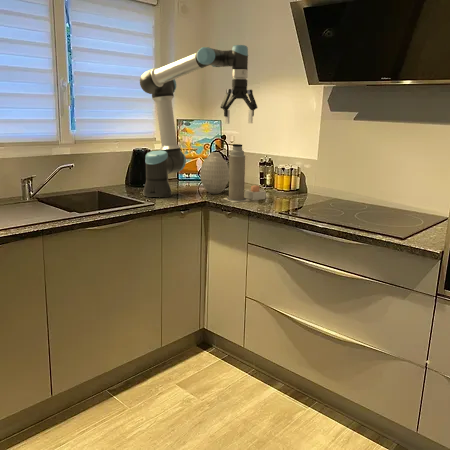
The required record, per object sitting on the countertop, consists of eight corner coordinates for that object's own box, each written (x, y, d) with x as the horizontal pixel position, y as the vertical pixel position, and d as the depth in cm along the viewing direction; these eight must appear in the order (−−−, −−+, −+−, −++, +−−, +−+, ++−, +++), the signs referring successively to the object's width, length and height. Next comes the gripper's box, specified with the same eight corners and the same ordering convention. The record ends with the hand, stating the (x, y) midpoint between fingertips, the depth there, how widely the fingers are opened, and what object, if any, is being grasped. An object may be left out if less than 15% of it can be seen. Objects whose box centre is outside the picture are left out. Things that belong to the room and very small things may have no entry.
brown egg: (249, 193, 248) (249, 185, 247) (256, 192, 250) (256, 185, 249) (254, 194, 244) (254, 187, 243) (261, 193, 246) (261, 186, 245)
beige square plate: (223, 198, 245) (223, 197, 244) (239, 197, 250) (239, 196, 249) (233, 202, 236) (233, 201, 236) (249, 200, 241) (249, 199, 241)
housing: (244, 197, 249) (244, 190, 248) (256, 196, 253) (257, 188, 252) (253, 200, 242) (253, 192, 241) (265, 198, 246) (265, 191, 245)
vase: (226, 195, 253) (227, 154, 247) (197, 194, 255) (197, 153, 250) (231, 190, 268) (231, 151, 263) (203, 189, 271) (203, 150, 265)
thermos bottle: (243, 197, 247) (245, 143, 240) (244, 200, 239) (245, 145, 232) (228, 197, 247) (229, 143, 240) (228, 200, 239) (229, 144, 232)
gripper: (221, 77, 219) (221, 124, 224) (265, 79, 231) (263, 123, 236) (213, 78, 225) (213, 123, 230) (256, 80, 237) (255, 122, 243)
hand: (239, 123), depth 233 cm, fingers open, 13 cm apart
